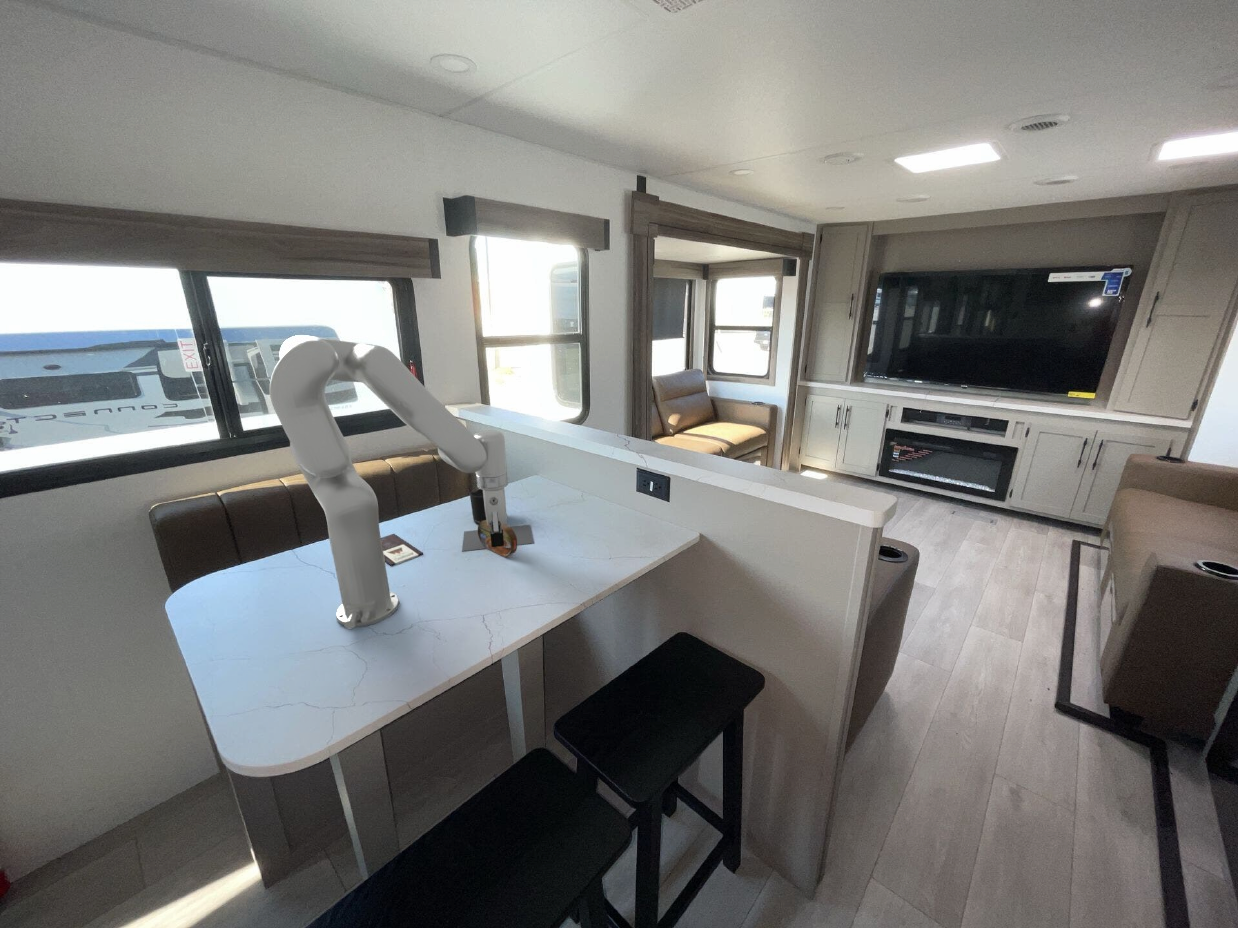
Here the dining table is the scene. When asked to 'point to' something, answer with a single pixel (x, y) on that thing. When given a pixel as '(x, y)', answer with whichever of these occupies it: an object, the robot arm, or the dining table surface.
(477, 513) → the pen holder
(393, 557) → the chocolate bar
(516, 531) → the mat
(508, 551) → the tin
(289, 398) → the robot arm
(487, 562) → the dining table surface
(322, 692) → the dining table surface
